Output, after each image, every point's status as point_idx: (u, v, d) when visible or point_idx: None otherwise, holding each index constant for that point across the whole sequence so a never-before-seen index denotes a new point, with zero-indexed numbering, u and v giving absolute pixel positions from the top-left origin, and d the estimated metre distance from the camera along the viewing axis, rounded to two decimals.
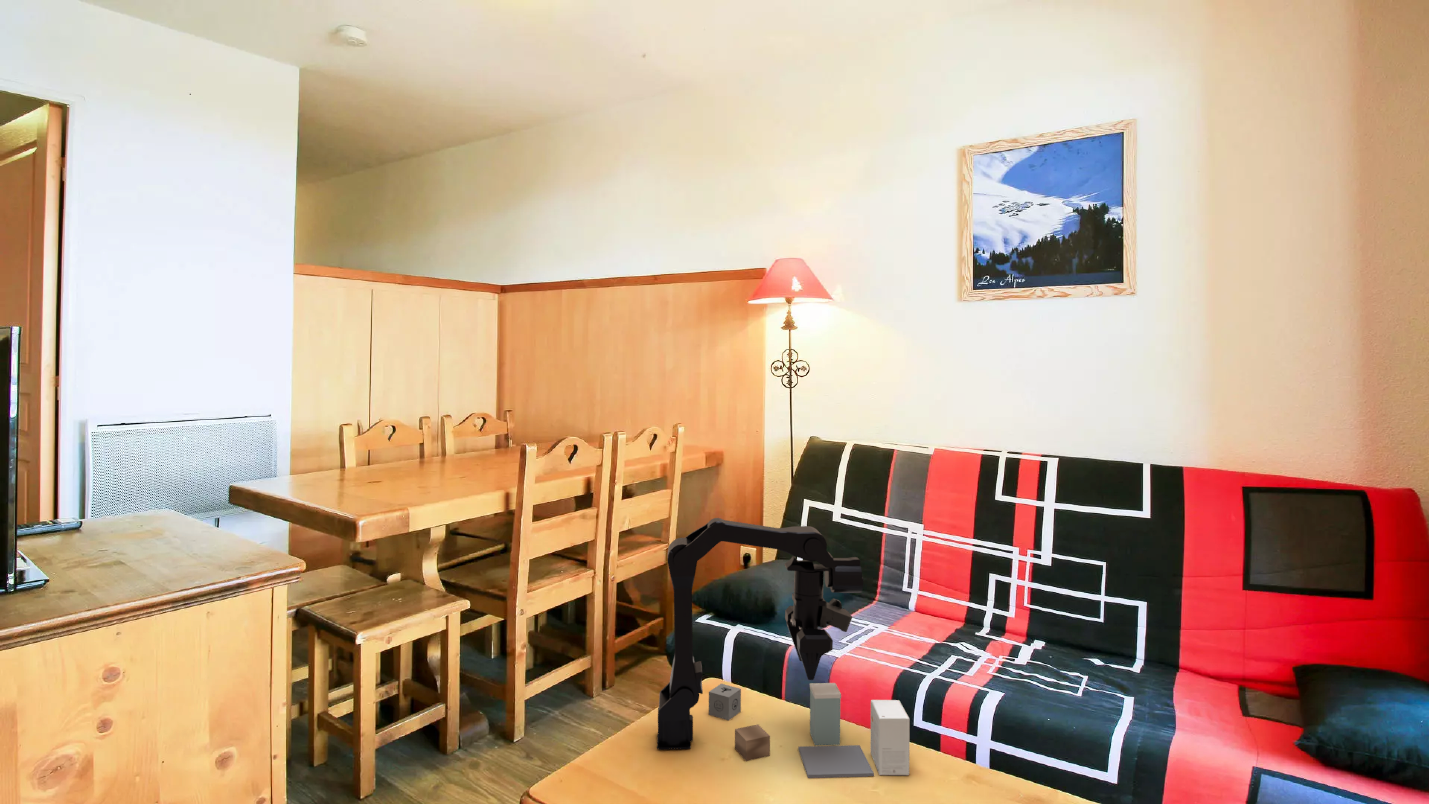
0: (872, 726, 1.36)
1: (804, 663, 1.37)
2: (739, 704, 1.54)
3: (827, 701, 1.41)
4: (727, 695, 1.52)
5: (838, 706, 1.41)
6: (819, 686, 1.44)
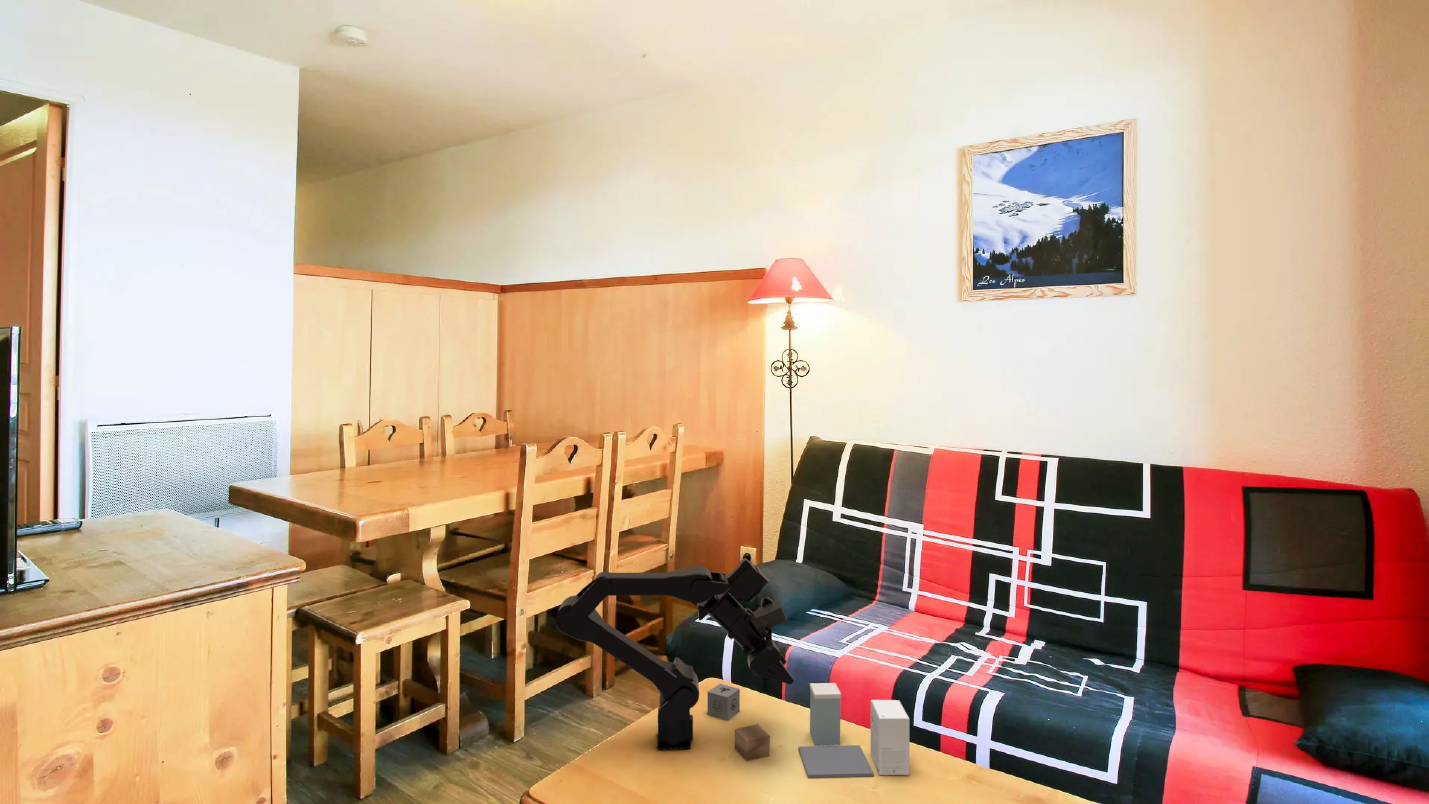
0: (872, 726, 1.36)
1: (774, 677, 1.36)
2: (738, 705, 1.54)
3: (827, 701, 1.41)
4: (726, 695, 1.51)
5: (838, 706, 1.41)
6: (819, 686, 1.44)
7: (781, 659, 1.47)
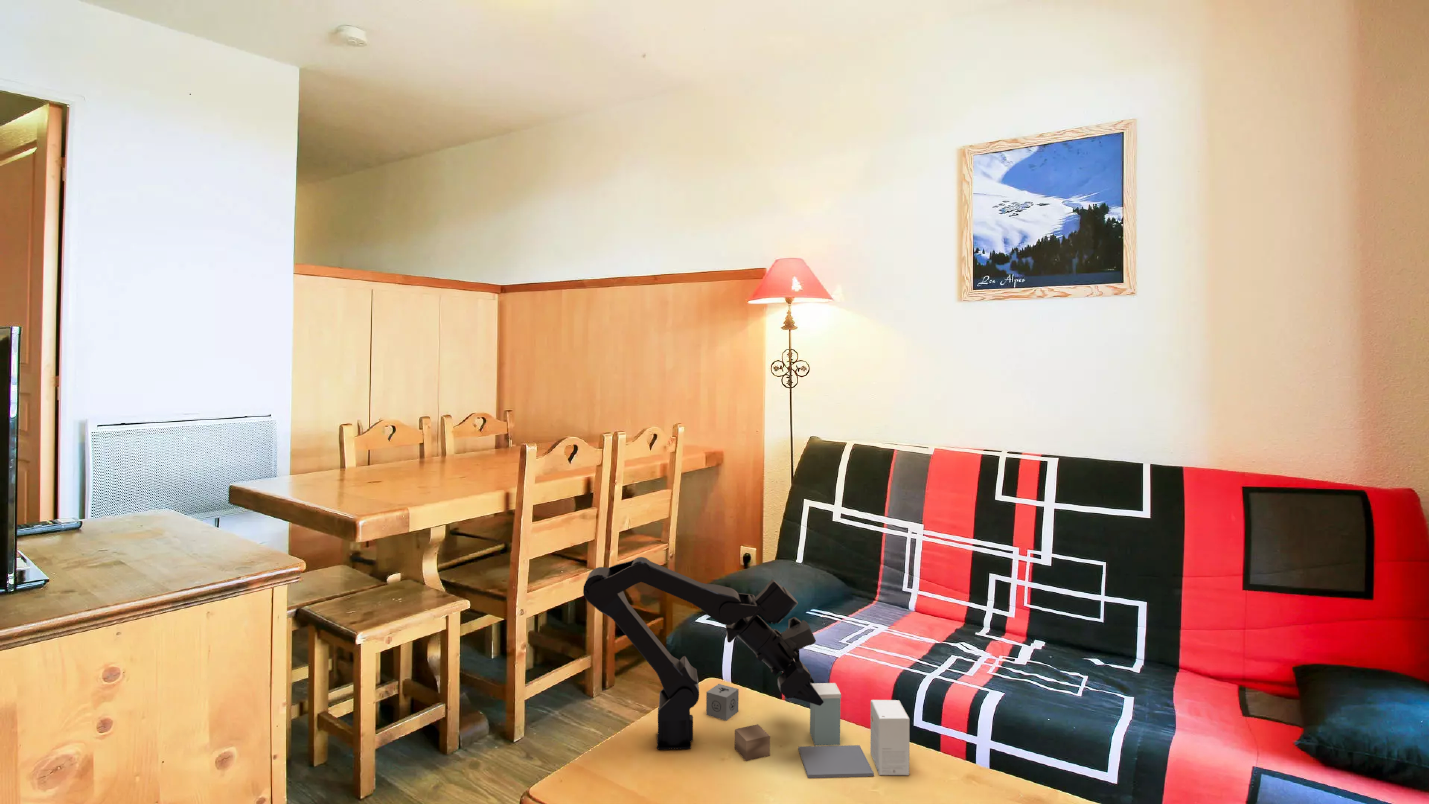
0: (872, 726, 1.36)
1: (804, 699, 1.37)
2: (736, 705, 1.54)
3: (827, 701, 1.41)
4: (725, 695, 1.51)
5: (838, 706, 1.41)
6: (819, 686, 1.44)
7: (809, 679, 1.47)
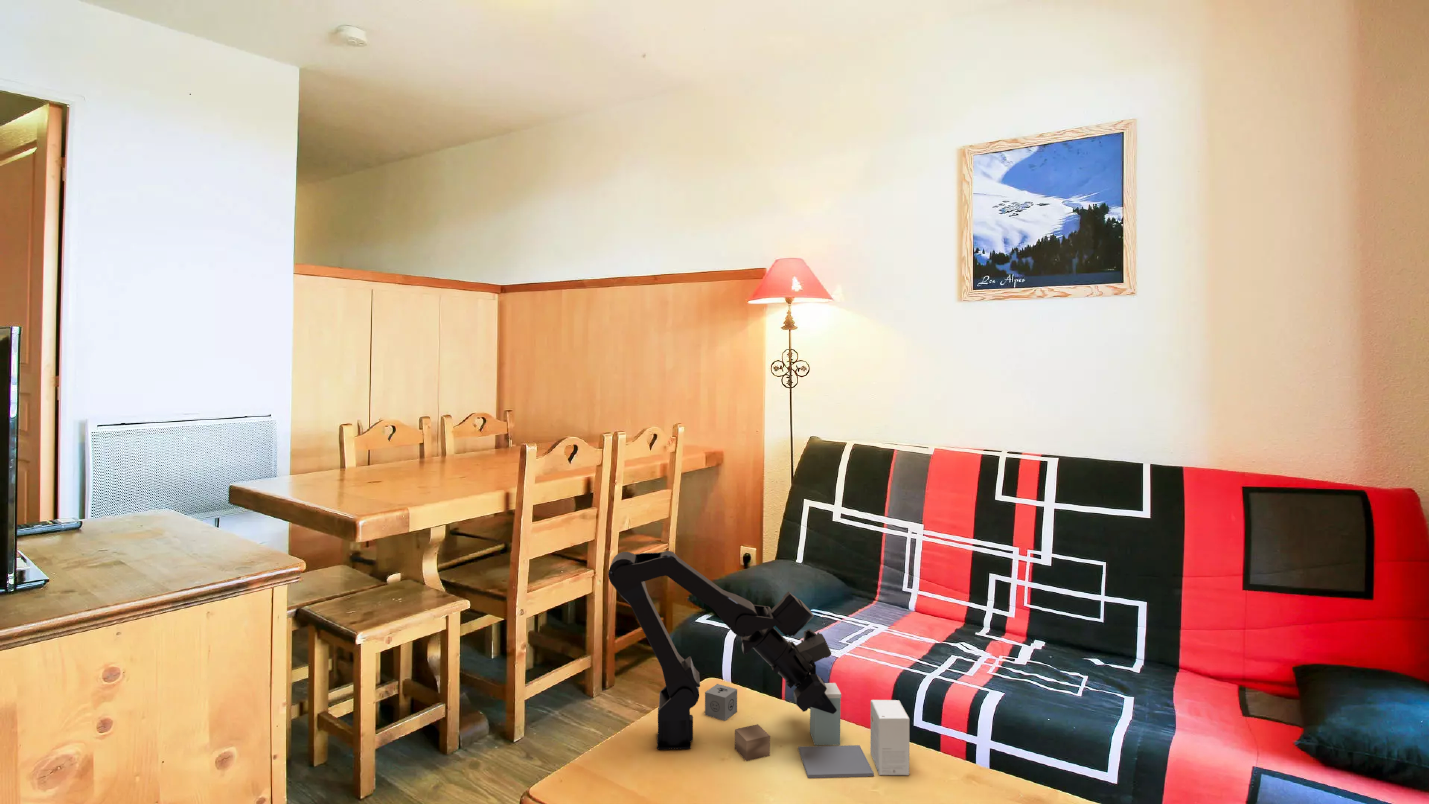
0: (872, 726, 1.36)
1: (817, 707, 1.39)
2: (735, 705, 1.54)
3: None
4: (723, 695, 1.51)
5: (838, 706, 1.41)
6: None
7: None
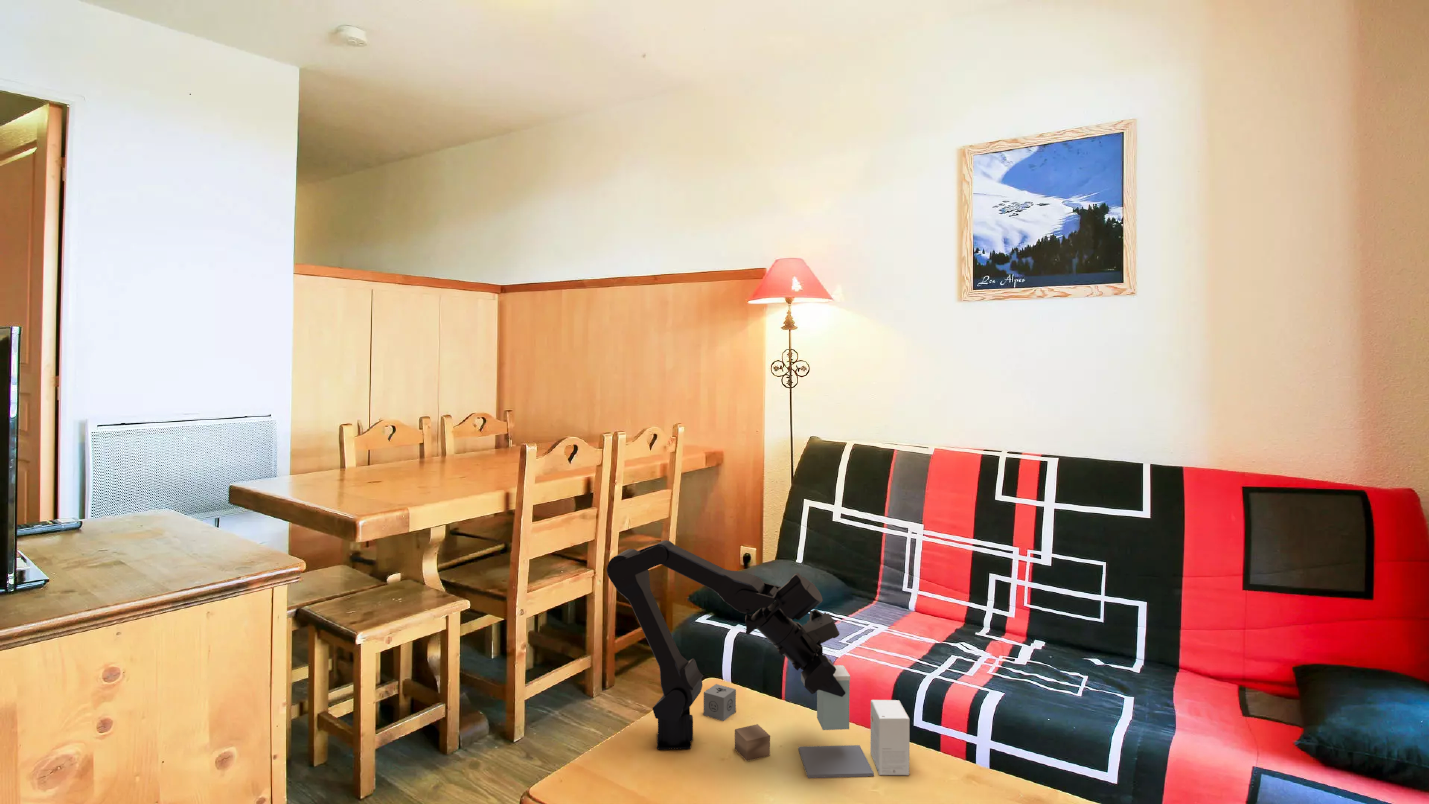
0: (872, 726, 1.36)
1: (826, 690, 1.33)
2: (734, 705, 1.54)
3: None
4: (722, 695, 1.51)
5: (847, 688, 1.34)
6: None
7: None
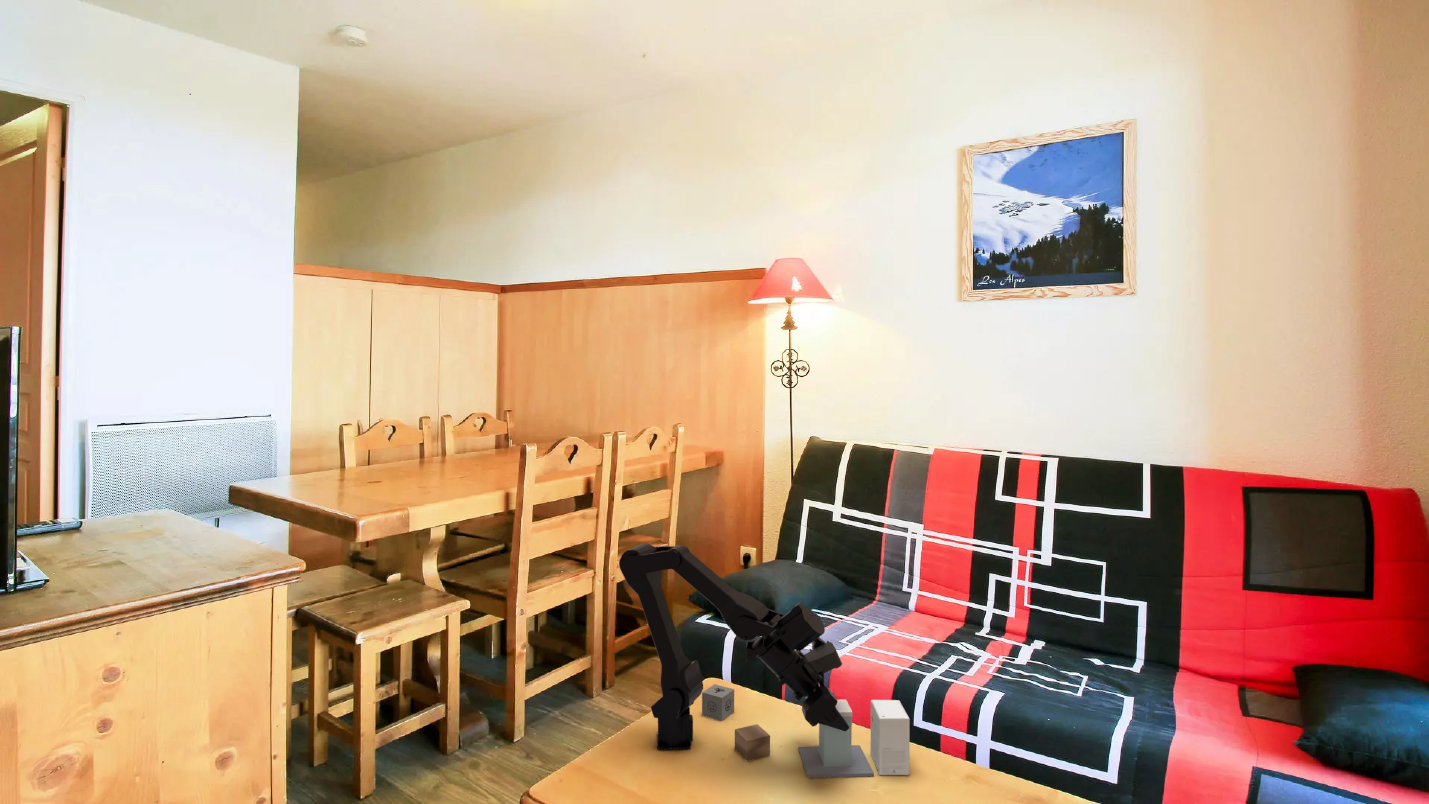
0: (872, 726, 1.36)
1: (829, 724, 1.29)
2: (732, 705, 1.54)
3: None
4: (720, 696, 1.51)
5: (849, 725, 1.32)
6: None
7: None
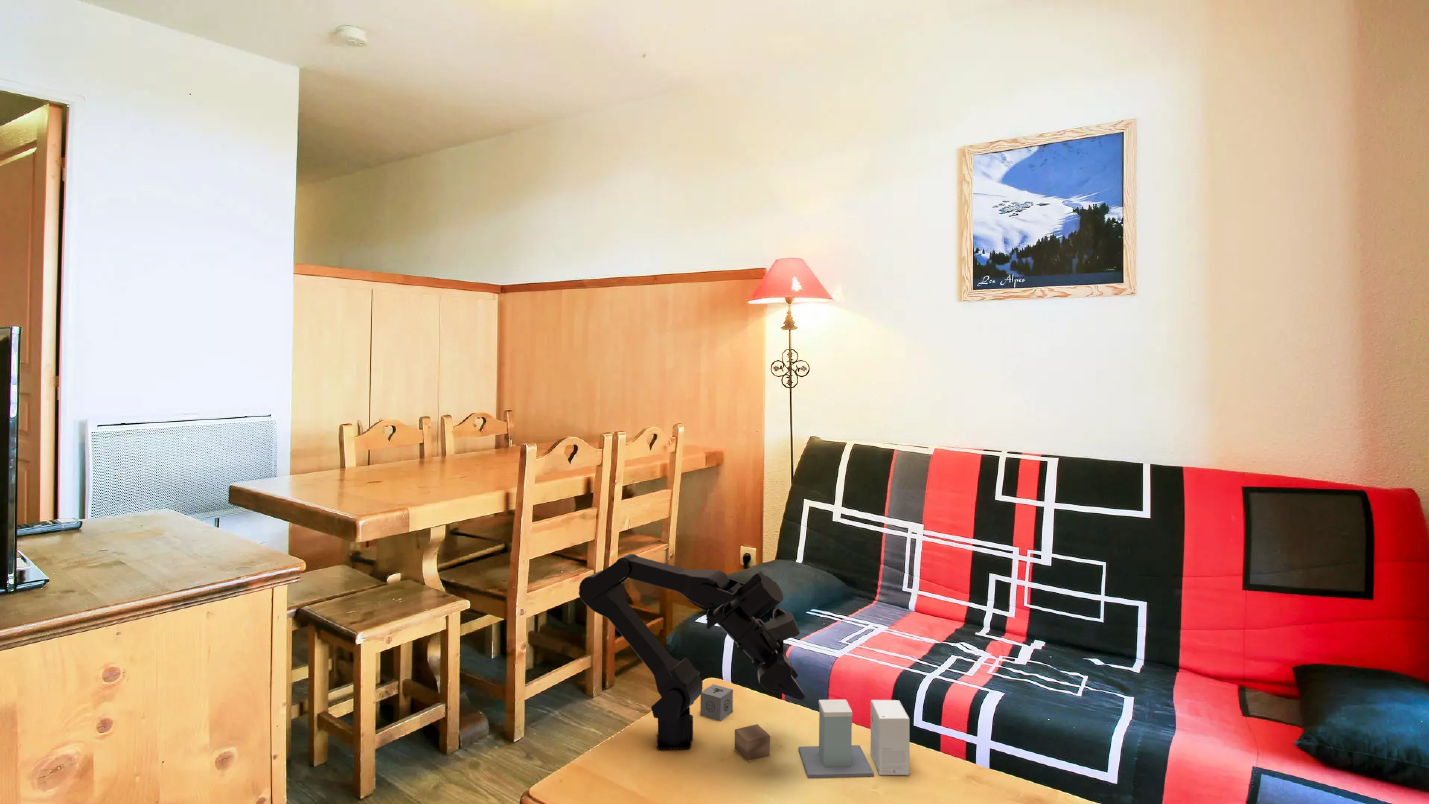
0: (872, 726, 1.36)
1: (784, 693, 1.31)
2: (731, 705, 1.54)
3: (837, 719, 1.32)
4: (719, 696, 1.51)
5: (849, 725, 1.32)
6: (829, 703, 1.35)
7: (792, 672, 1.41)
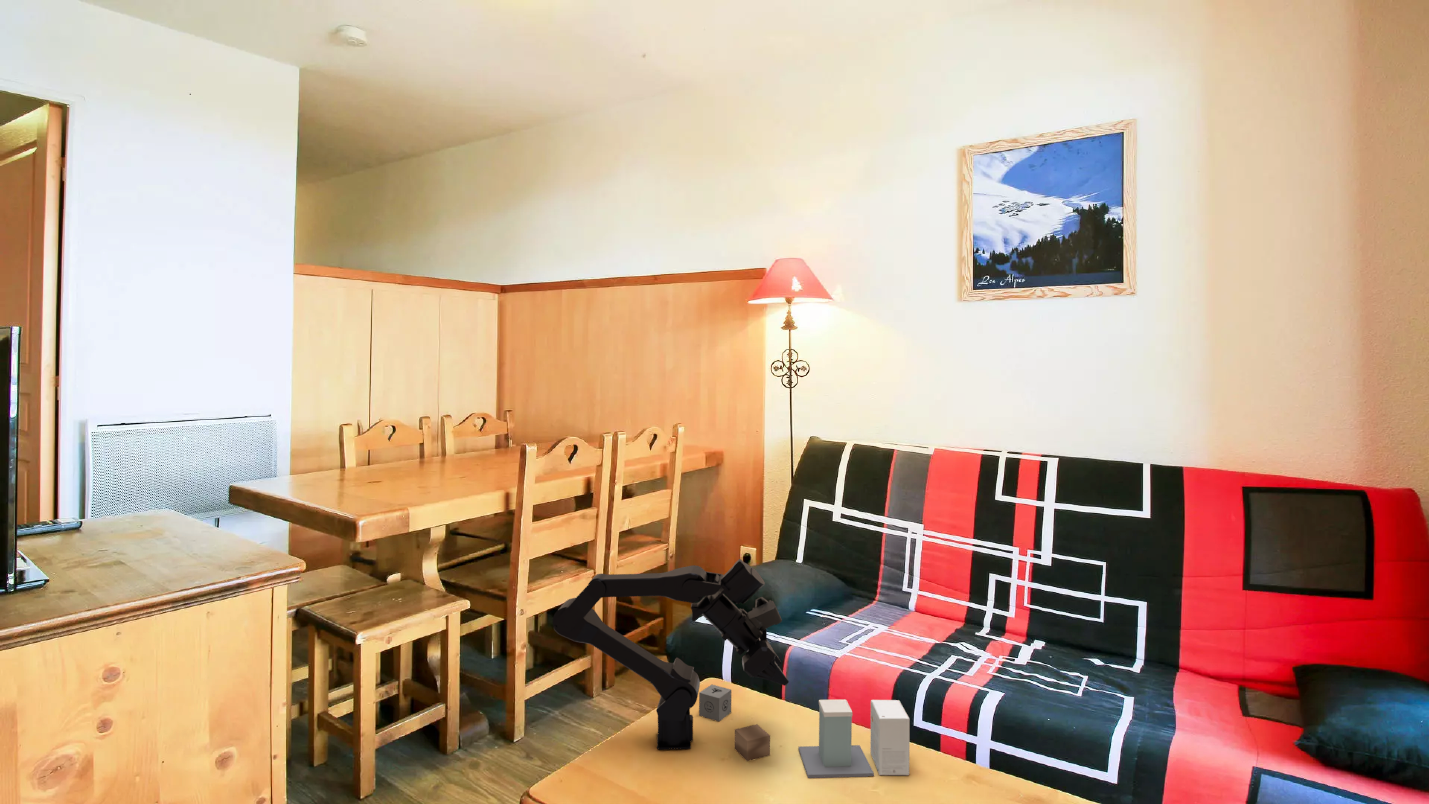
0: (872, 726, 1.36)
1: (768, 679, 1.35)
2: (729, 705, 1.54)
3: (837, 719, 1.32)
4: (717, 696, 1.51)
5: (849, 725, 1.32)
6: (829, 703, 1.35)
7: (776, 660, 1.46)
